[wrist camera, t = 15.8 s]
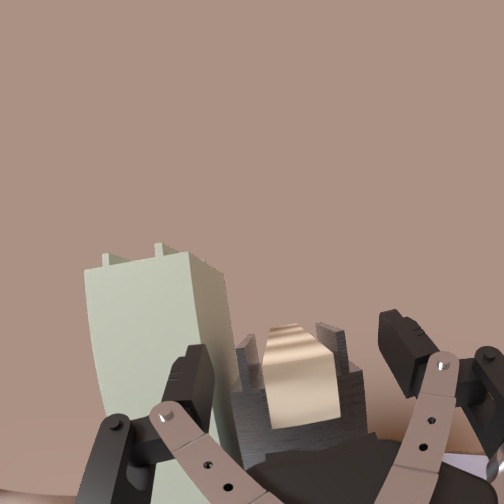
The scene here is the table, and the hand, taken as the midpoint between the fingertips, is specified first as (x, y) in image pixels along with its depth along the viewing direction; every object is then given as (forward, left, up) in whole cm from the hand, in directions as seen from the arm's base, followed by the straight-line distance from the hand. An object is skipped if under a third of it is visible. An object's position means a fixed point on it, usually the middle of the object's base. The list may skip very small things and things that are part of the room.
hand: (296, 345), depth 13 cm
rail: (-7, +7, -3) cm, 11 cm away
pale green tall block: (-17, +3, -25) cm, 31 cm away
